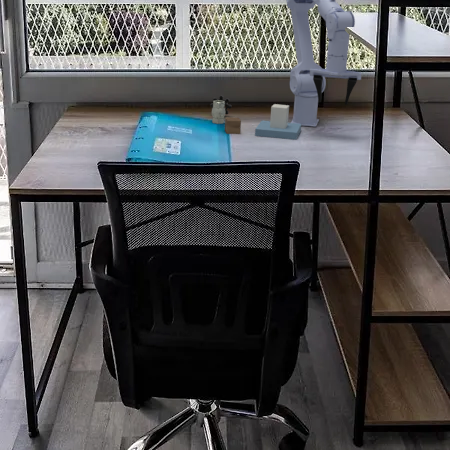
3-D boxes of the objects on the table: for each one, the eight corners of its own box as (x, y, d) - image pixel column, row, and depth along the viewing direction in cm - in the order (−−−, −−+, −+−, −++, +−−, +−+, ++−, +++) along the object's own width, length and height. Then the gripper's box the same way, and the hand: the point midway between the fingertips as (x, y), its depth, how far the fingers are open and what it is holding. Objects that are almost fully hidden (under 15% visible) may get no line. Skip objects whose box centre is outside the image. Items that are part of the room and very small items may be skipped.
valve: (228, 124, 251) (230, 116, 262) (229, 103, 249) (231, 96, 260) (206, 123, 251) (210, 115, 263) (207, 102, 249) (211, 94, 260)
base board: (261, 126, 250) (261, 120, 249) (300, 130, 248) (301, 123, 247) (254, 135, 239) (255, 129, 238) (296, 139, 237) (296, 132, 236)
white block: (272, 124, 245) (274, 104, 243) (287, 125, 244) (289, 105, 242) (269, 127, 241) (271, 106, 239) (285, 128, 240) (286, 108, 238)
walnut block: (224, 130, 243) (225, 117, 242) (238, 130, 244) (238, 117, 243) (226, 134, 240) (227, 120, 238) (240, 134, 240) (240, 120, 239)
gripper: (310, 55, 232) (306, 103, 237) (362, 59, 230) (357, 107, 234) (312, 52, 239) (309, 98, 243) (363, 55, 236) (358, 102, 241)
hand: (332, 102), depth 239 cm, fingers open, 7 cm apart
